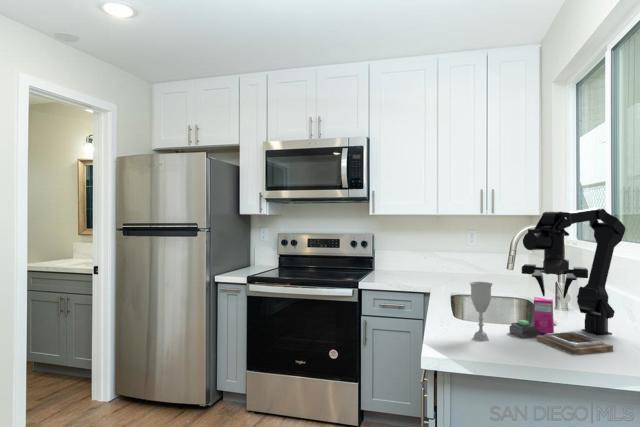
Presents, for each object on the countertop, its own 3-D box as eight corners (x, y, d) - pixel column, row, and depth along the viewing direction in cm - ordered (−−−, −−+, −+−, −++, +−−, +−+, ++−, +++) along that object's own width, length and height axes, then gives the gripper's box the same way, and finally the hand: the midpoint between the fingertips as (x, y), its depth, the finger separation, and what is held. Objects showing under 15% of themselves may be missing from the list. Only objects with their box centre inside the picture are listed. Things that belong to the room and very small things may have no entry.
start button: (524, 323, 138) (524, 319, 138) (531, 325, 135) (531, 322, 135) (515, 323, 137) (515, 320, 137) (522, 326, 134) (522, 322, 134)
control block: (524, 331, 140) (524, 321, 140) (537, 336, 134) (537, 326, 134) (509, 333, 138) (509, 322, 138) (522, 338, 133) (522, 327, 133)
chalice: (484, 344, 126) (484, 286, 126) (464, 339, 132) (464, 283, 132) (497, 340, 130) (497, 283, 131) (478, 335, 136) (478, 281, 136)
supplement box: (534, 329, 143) (534, 296, 143) (554, 331, 140) (554, 298, 140) (533, 333, 138) (533, 299, 138) (553, 336, 135) (553, 301, 135)
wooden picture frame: (572, 337, 134) (572, 329, 134) (613, 351, 120) (613, 342, 120) (537, 340, 130) (537, 332, 130) (574, 354, 117) (574, 346, 117)
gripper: (519, 249, 132) (519, 298, 132) (588, 253, 122) (588, 305, 122) (523, 247, 142) (523, 292, 142) (587, 250, 132) (587, 298, 132)
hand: (553, 297), depth 134 cm, fingers open, 5 cm apart
